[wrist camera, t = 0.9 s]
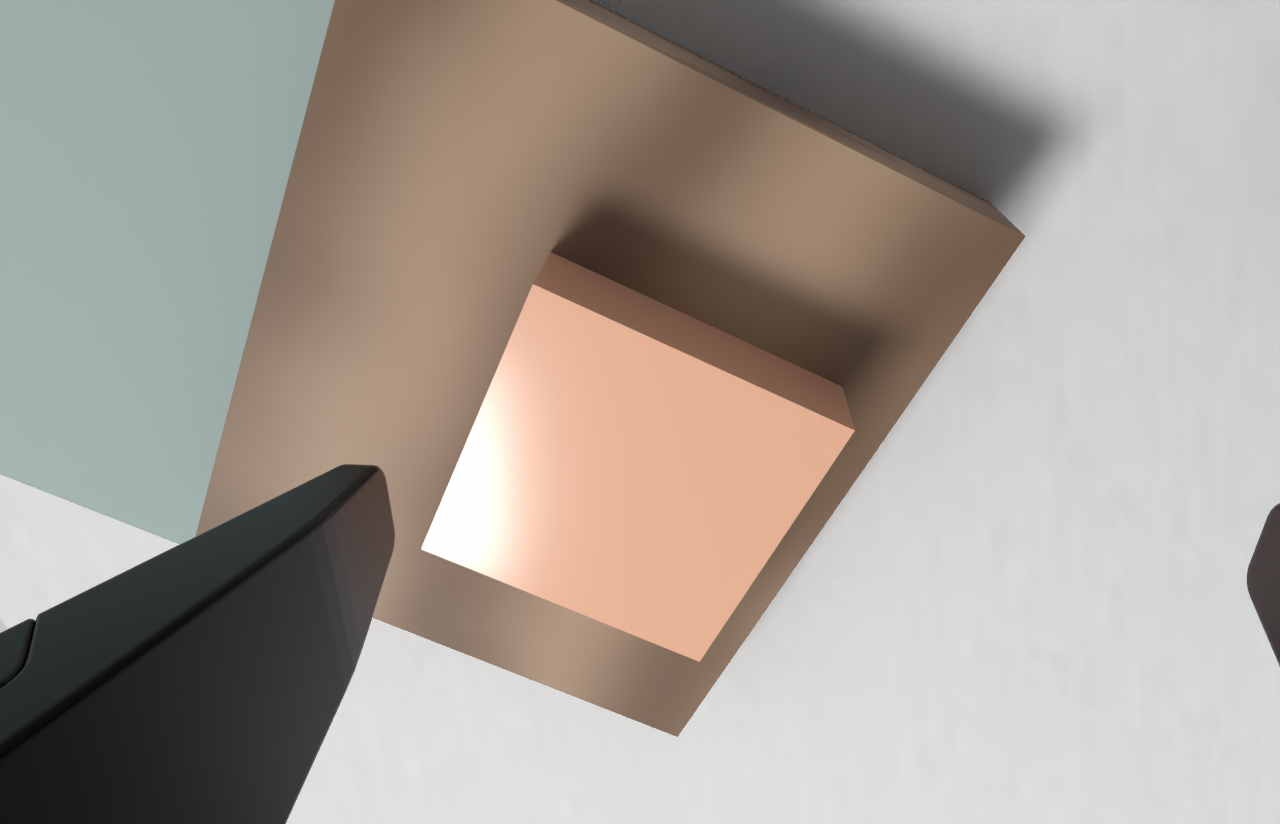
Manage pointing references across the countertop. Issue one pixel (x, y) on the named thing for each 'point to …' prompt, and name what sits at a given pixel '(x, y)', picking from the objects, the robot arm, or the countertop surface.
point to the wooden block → (591, 237)
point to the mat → (138, 235)
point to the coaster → (635, 461)
